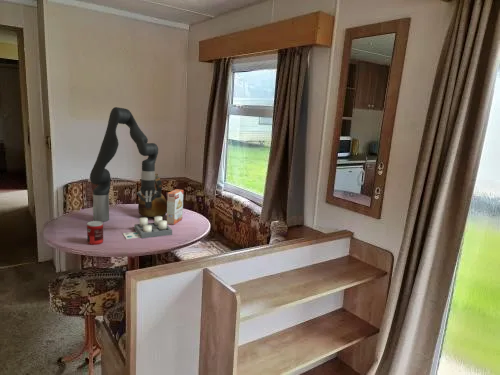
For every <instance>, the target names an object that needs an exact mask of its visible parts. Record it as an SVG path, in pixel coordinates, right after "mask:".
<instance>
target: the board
mask: <svg viewBox="0 0 500 375" xmlns="http://www.w3.org/2000/svg"><path fill="white" fill-rule="evenodd" d="M148 225H151V226H152V232H143V227H140V226H139V223H136V224H134V225H133V226H134V227H133V228H134V232H137V233H138V234H139V235H140V236H141V238H140V239H147V238H157V237H165V236H172V235H173V229H172V228H171V227H169V225H167V229H166V230H159V225H154V222H148Z"/></svg>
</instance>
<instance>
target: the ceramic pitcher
mask: <svg viewBox="0 0 500 375" xmlns="http://www.w3.org/2000/svg"><path fill="white" fill-rule="evenodd" d="M162 184H163V183H162V180H161V178H160V177H159V176H158V173H155V189H156V191H158V192H159V194H158V196H157V197H156V198H155V199H154V200H153V201H151V206H150V208H146V207H145V201H143V200H142V199H141V198H140V197H139V201H138V205H137V206H138V208H137V209H138V210H137V212H138V214H139V215H140V216H142V217H146V218H154V217H155V216H162V217H164V216H166V215H167V199H166V198H165V196H164V195H163V193H162V190H163V185H162ZM153 195H154V193H153ZM153 195H152V196H153ZM141 196H142V197H143V198H144V199H145V197H144V195H143V194H142V193H141Z"/></svg>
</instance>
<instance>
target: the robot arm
mask: <svg viewBox="0 0 500 375" xmlns="http://www.w3.org/2000/svg"><path fill="white" fill-rule="evenodd" d="M119 124H121V125H126V126H127V127H128V128H129V135H130V138H131V139H132V141H133V142H134V143H135V144H136V147H137V150H138V153H139V154H140V155H141V156H143V157H147V159H146V158H145V159H144V160H142V161H141V175H140V176H141V180H140V181H141V182H140V190H139V191H137V192H136V195H137V196H138V197H139V199H140V198H141V199H142V200H143V201H145V207H146V208H150V206H151V201H153V200H154V199H155V198H156V197H157V196H158V194H159V192H158V191H156V189H157V188H156V189H155V186H156V183H155V174H156V171H155V170H156V165H155V164H156V161H157V158H158V154H159V147H158V145H157V144H156V143H155V142H148V141H149V140H148V137H147V136H146V134H145V133H144V132H143V131H142V129H141V128H140V127H139V125H138V123H137V121H136V119H135V117H134V115H133V113H132V111H130V110H129V109H128V108H123V107H118V106H115V107H113V108H112V109H111V111H110V113H109V116H108V121H107V127H106V129H105V133H104V138H103V140H102V142H101V145H100V149H99V152H98V155H97V157H96V160H95V163H94V165H93V167H92V169H91V171H90V173H89V174H90V175H89V180H90V182H91V184H93V185H97V186H96V187H95V188H94V189H93V191H92V195H93V196H92V198H93V203H92V218H93V219H92V220H93V221H101V222H108V221H109V220H110V190H111V174H110V171H109V170H108V169H107V168H106V167H107V166H108V164H109V163H110V162H111V160H112V159H113V158H114V157H115V155H116V154H117V150H118V149H119V143H120V142H119V140H118V136H117V127H118V125H119ZM153 193H154V195H153ZM142 194H143V195H144V197H145V199H144V198H143V197H142ZM152 195H153V196H152Z"/></svg>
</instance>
